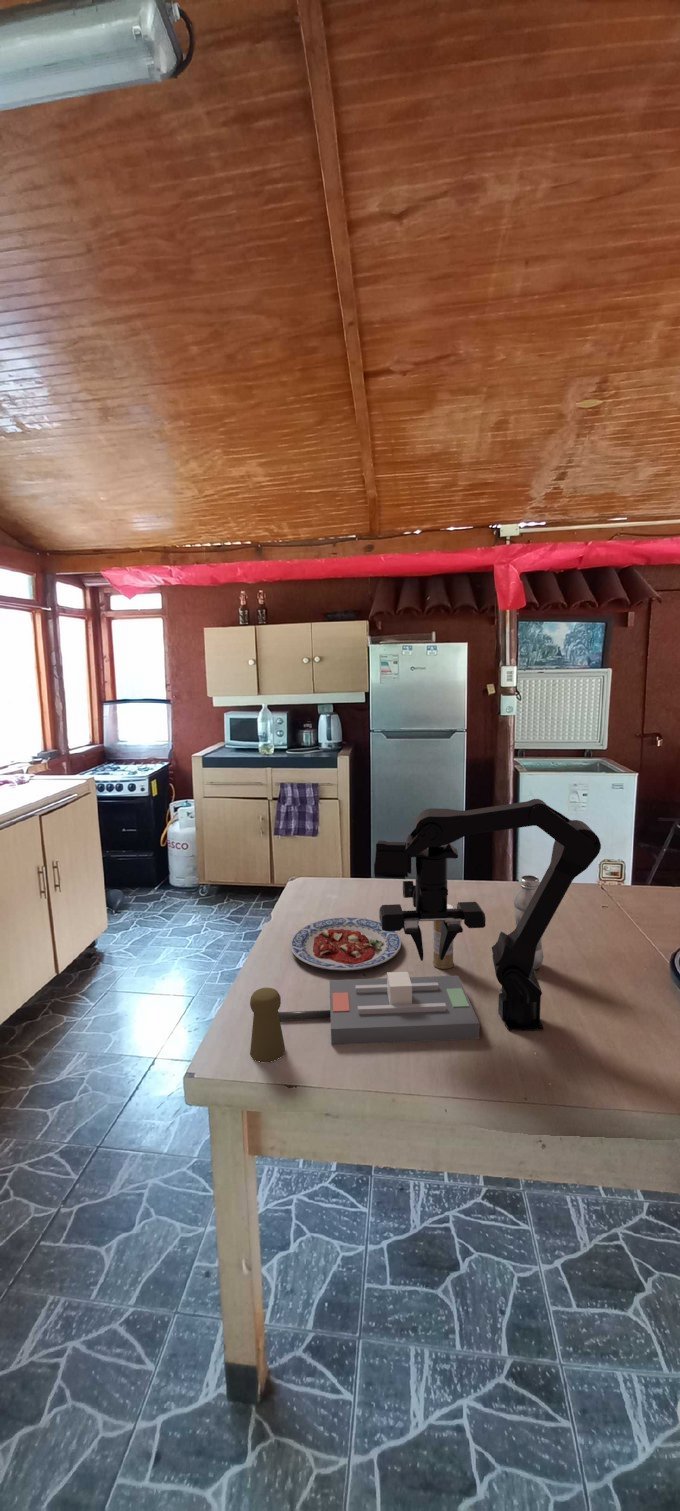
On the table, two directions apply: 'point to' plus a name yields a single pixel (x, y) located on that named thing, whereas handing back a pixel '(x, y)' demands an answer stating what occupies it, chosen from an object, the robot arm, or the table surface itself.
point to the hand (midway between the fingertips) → (431, 959)
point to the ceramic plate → (345, 944)
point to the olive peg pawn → (266, 1026)
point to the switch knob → (399, 988)
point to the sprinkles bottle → (448, 957)
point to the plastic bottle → (520, 905)
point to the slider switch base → (396, 1012)
